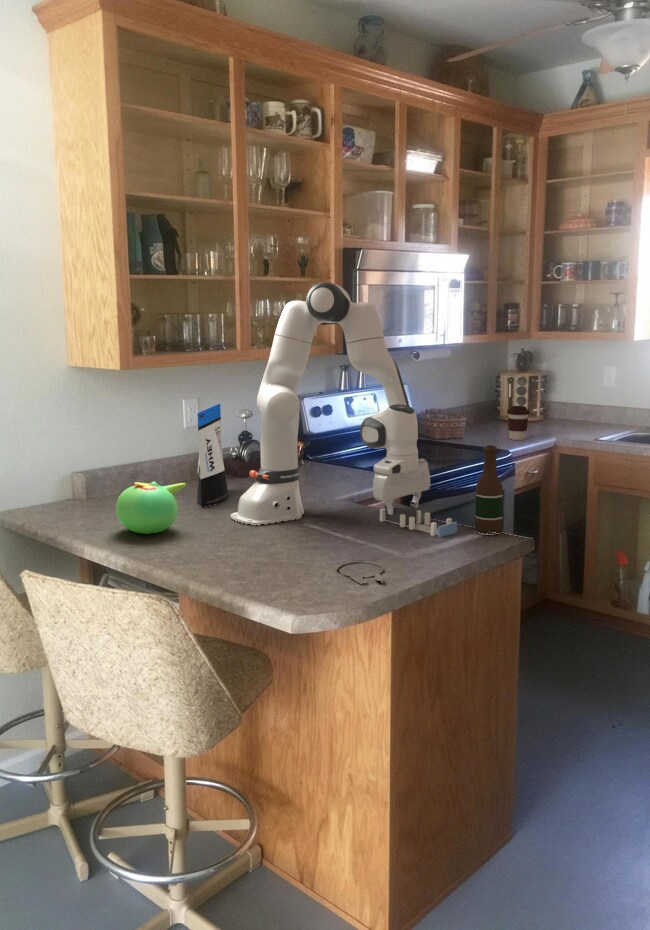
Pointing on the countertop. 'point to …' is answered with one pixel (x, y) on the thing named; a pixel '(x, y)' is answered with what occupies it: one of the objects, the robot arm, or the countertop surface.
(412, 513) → the gray rectangular block
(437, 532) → the white peg rack
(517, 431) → the coffee cup
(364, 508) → the countertop surface
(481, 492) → the beer bottle
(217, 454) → the protein powder
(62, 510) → the countertop surface
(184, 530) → the countertop surface
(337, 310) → the robot arm
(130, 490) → the round green spouted pot
